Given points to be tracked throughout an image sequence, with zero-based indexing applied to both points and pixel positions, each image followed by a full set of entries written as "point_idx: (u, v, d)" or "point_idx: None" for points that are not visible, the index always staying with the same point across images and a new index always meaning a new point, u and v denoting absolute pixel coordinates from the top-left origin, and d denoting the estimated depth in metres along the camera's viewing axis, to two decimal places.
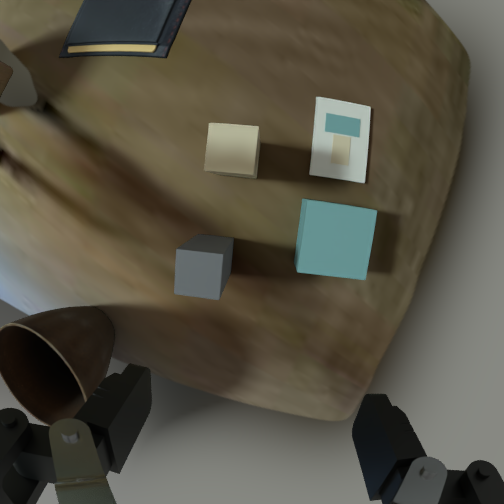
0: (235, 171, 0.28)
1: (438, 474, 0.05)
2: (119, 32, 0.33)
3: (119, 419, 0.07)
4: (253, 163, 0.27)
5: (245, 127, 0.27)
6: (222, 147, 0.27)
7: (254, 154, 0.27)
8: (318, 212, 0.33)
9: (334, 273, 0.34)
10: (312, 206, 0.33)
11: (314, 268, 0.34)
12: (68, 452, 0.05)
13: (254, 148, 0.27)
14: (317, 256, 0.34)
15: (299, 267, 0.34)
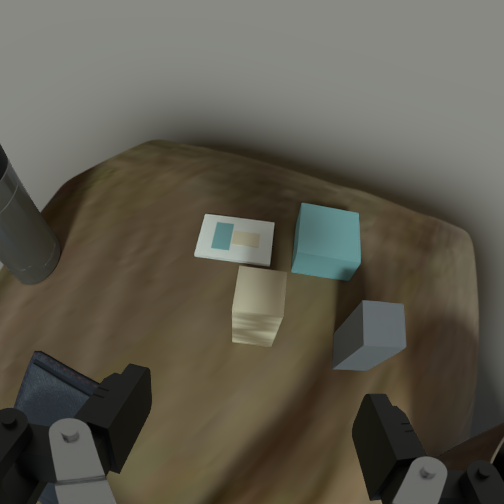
0: (284, 287, 0.29)
1: (438, 474, 0.05)
2: None
3: (119, 419, 0.07)
4: (276, 271, 0.29)
5: (239, 276, 0.29)
6: (259, 297, 0.28)
7: (267, 270, 0.29)
8: (307, 244, 0.38)
9: (357, 235, 0.39)
10: (302, 249, 0.37)
11: (355, 249, 0.38)
12: (68, 452, 0.05)
13: (261, 270, 0.29)
14: (345, 247, 0.38)
15: (356, 261, 0.37)
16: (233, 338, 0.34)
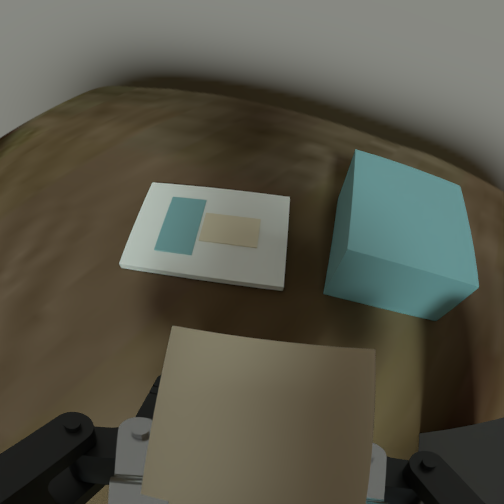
0: (367, 420, 0.06)
1: (376, 460, 0.06)
2: None
3: None
4: (332, 350, 0.06)
5: (170, 379, 0.06)
6: (259, 480, 0.05)
7: (294, 347, 0.06)
8: (371, 233, 0.15)
9: (465, 226, 0.16)
10: (361, 243, 0.14)
11: (467, 256, 0.14)
12: (144, 451, 0.06)
13: (268, 347, 0.06)
14: (449, 249, 0.15)
15: (471, 282, 0.14)
16: None
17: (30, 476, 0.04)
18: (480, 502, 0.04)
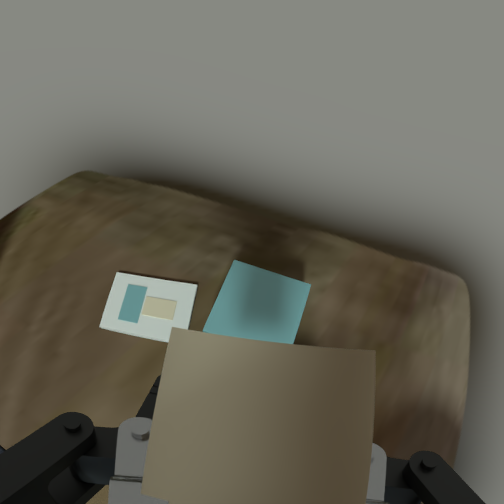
0: (367, 421, 0.05)
1: (376, 460, 0.06)
2: None
3: None
4: (332, 352, 0.06)
5: (170, 380, 0.06)
6: (259, 482, 0.05)
7: (294, 349, 0.06)
8: (220, 321, 0.28)
9: (297, 317, 0.28)
10: (211, 327, 0.28)
11: (287, 339, 0.27)
12: (144, 451, 0.06)
13: (268, 348, 0.06)
14: (272, 334, 0.28)
15: None
16: None
17: (30, 476, 0.04)
18: (480, 502, 0.04)
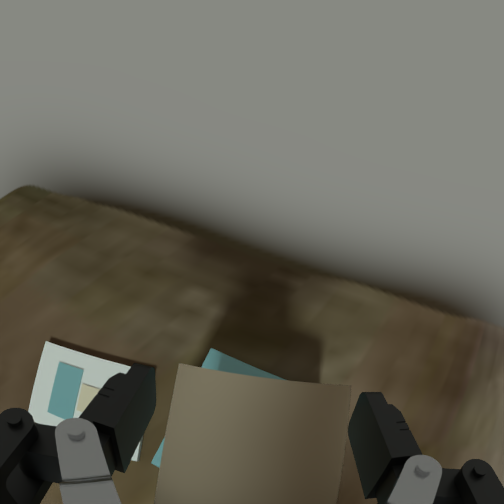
0: (339, 444, 0.07)
1: (433, 472, 0.06)
2: None
3: (125, 418, 0.08)
4: (313, 386, 0.07)
5: (178, 407, 0.07)
6: (249, 488, 0.06)
7: (281, 383, 0.07)
8: None
9: None
10: None
11: None
12: (75, 452, 0.05)
13: (259, 383, 0.07)
14: None
15: None
16: None
17: None
18: None
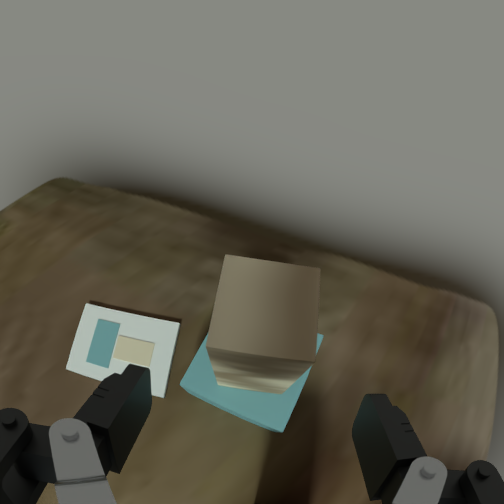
0: (315, 298, 0.14)
1: (438, 474, 0.05)
2: None
3: (119, 419, 0.07)
4: (298, 266, 0.15)
5: (225, 276, 0.14)
6: (265, 321, 0.13)
7: (281, 264, 0.15)
8: (202, 375, 0.21)
9: (301, 378, 0.21)
10: (190, 382, 0.21)
11: (285, 406, 0.20)
12: (68, 452, 0.05)
13: (269, 263, 0.15)
14: (267, 398, 0.20)
15: (276, 427, 0.19)
16: (218, 382, 0.19)
17: None
18: None
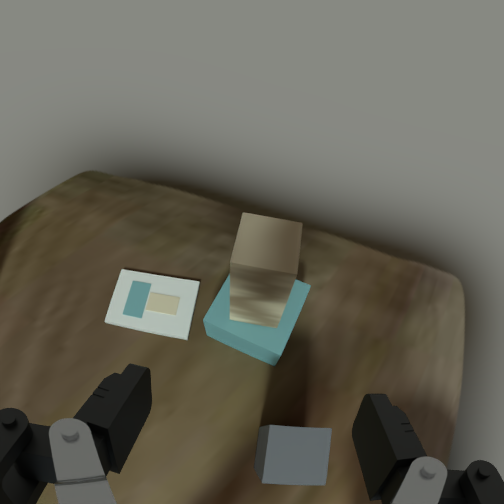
0: (298, 239, 0.22)
1: (438, 474, 0.05)
2: None
3: (119, 419, 0.07)
4: (288, 221, 0.23)
5: (242, 224, 0.23)
6: (266, 250, 0.22)
7: (277, 219, 0.23)
8: (220, 313, 0.30)
9: (294, 315, 0.30)
10: (211, 317, 0.29)
11: (282, 336, 0.29)
12: (68, 452, 0.05)
13: (270, 218, 0.23)
14: (269, 329, 0.29)
15: (276, 351, 0.28)
16: (230, 313, 0.28)
17: None
18: None
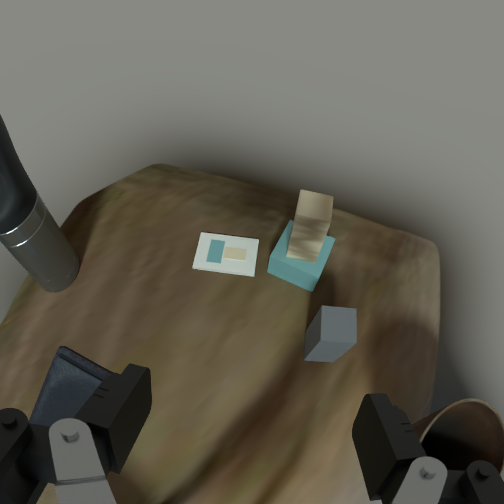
0: (331, 205, 0.40)
1: (438, 474, 0.05)
2: None
3: (119, 419, 0.07)
4: (325, 195, 0.41)
5: (301, 195, 0.41)
6: (314, 209, 0.39)
7: (319, 194, 0.41)
8: (280, 252, 0.47)
9: (326, 255, 0.48)
10: (275, 255, 0.47)
11: (319, 266, 0.46)
12: (68, 452, 0.05)
13: (315, 193, 0.41)
14: (311, 262, 0.47)
15: (316, 275, 0.46)
16: (288, 251, 0.46)
17: None
18: None
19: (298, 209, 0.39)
